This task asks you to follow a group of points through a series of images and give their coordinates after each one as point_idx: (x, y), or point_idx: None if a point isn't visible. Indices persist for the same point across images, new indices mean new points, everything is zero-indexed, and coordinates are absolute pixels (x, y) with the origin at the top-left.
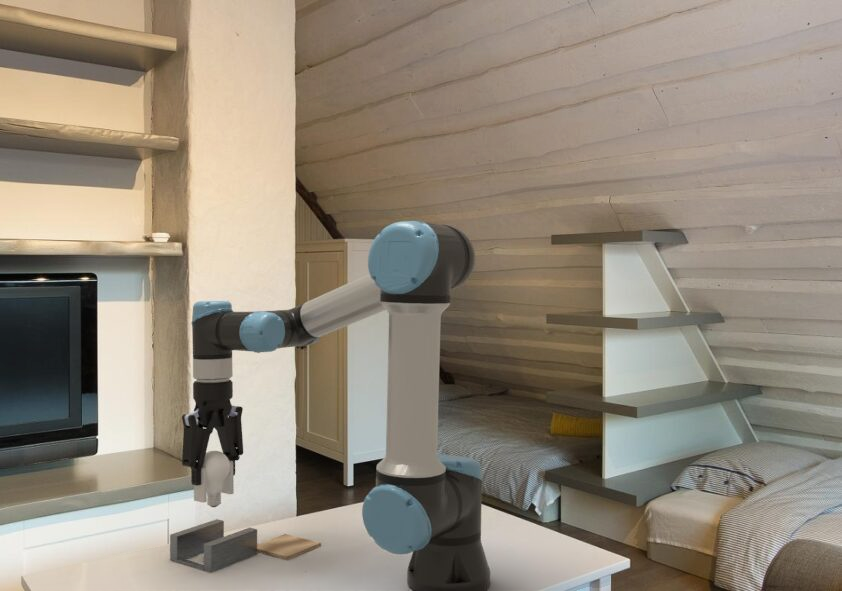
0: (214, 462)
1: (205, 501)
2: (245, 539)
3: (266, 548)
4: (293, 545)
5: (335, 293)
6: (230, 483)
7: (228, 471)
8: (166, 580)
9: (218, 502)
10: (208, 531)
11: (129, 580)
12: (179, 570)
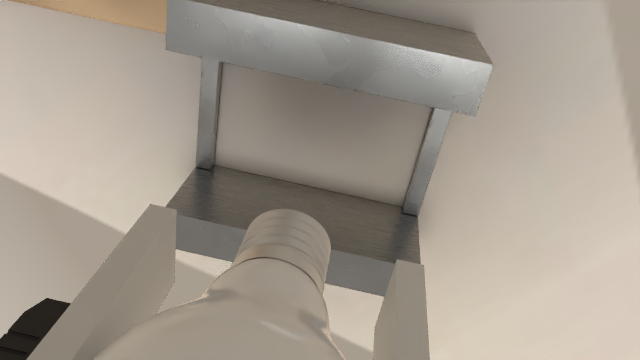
0: None
1: (408, 263)
2: (260, 7)
3: None
4: None
5: None
6: (141, 260)
7: (175, 325)
8: (597, 143)
9: (292, 219)
10: (256, 217)
11: (622, 252)
12: (487, 159)
